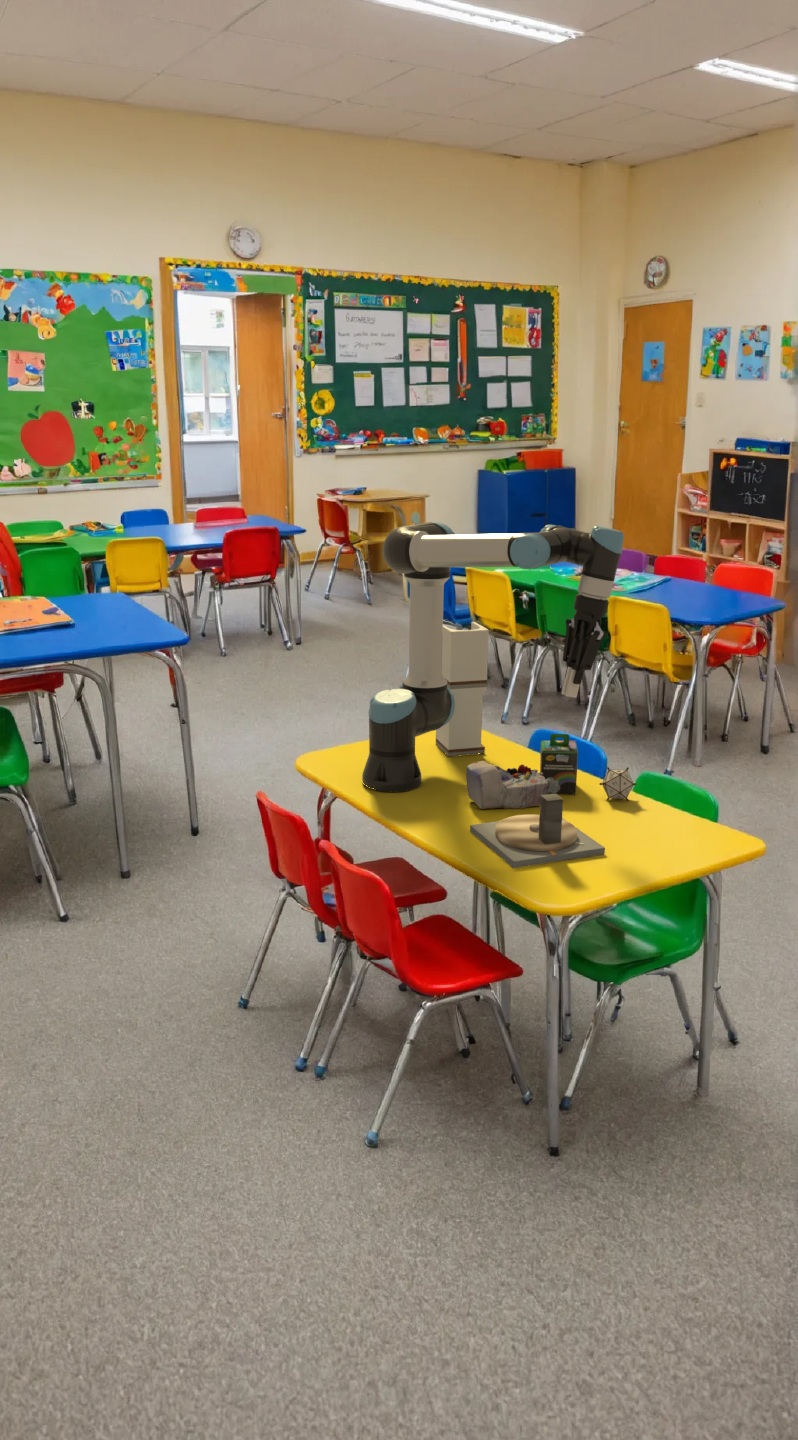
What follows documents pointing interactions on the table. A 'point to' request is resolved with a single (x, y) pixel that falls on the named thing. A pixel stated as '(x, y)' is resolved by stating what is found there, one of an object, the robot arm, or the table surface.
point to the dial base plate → (525, 857)
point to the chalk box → (559, 764)
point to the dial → (538, 828)
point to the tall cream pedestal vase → (464, 688)
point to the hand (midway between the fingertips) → (568, 695)
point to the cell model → (505, 786)
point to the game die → (617, 784)
